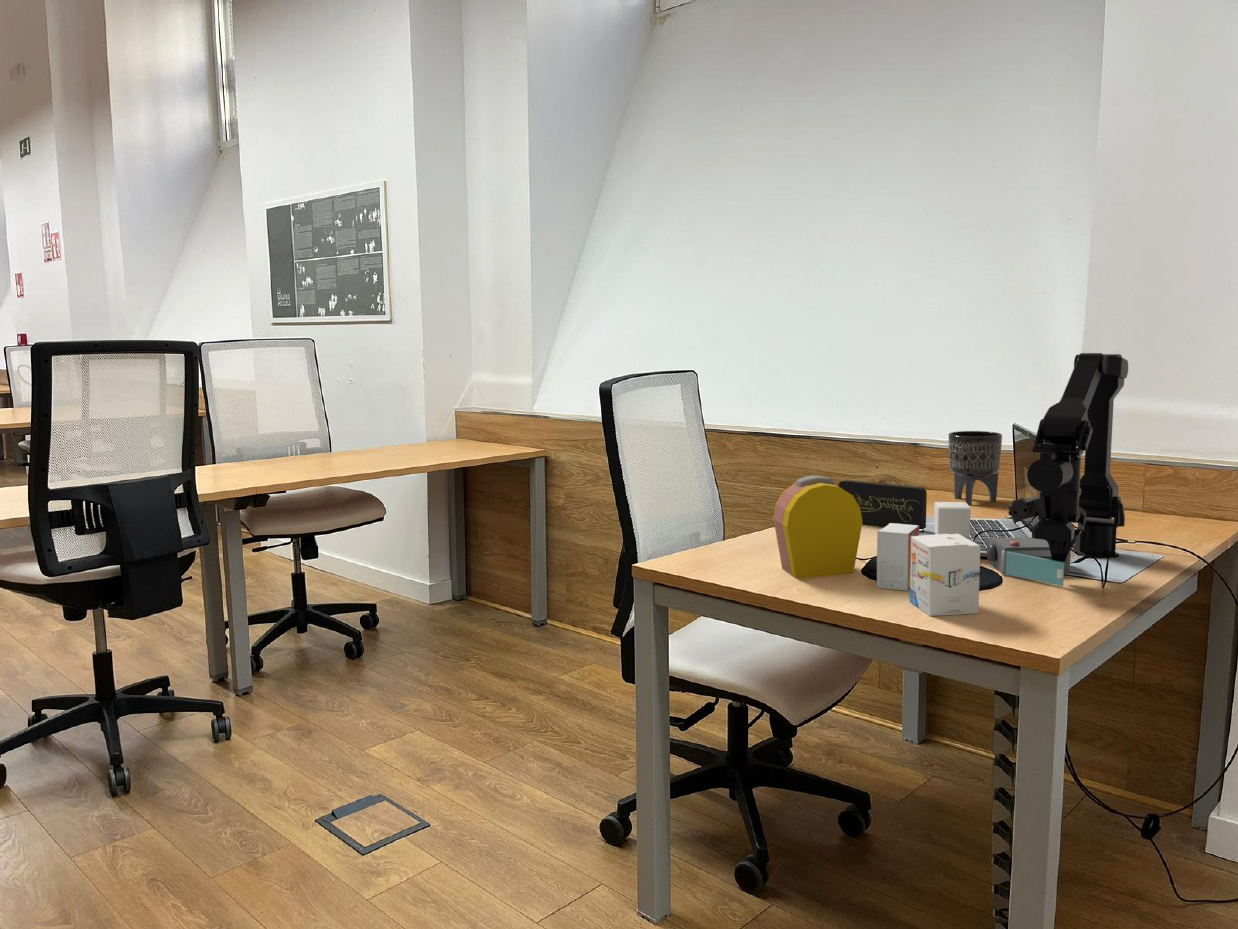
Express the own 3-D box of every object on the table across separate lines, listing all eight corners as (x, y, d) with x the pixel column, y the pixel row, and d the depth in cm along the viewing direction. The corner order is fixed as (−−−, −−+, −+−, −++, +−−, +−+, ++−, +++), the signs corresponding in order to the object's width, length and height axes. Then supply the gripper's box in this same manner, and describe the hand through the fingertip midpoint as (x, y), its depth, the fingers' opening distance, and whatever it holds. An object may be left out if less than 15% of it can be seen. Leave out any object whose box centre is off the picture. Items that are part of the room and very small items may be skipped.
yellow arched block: (844, 563, 183) (845, 471, 180) (861, 573, 175) (863, 478, 172) (772, 568, 181) (772, 475, 178) (787, 579, 173) (786, 482, 170)
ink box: (908, 601, 157) (909, 534, 155) (956, 599, 158) (957, 532, 156) (929, 617, 149) (930, 546, 147) (979, 614, 149) (981, 543, 148)
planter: (994, 507, 231) (996, 437, 229) (941, 503, 238) (942, 435, 236) (1004, 499, 242) (1006, 432, 240) (953, 495, 249) (955, 430, 247)
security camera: (969, 556, 185) (970, 507, 184) (933, 555, 187) (934, 507, 185) (964, 548, 192) (965, 501, 190) (929, 548, 193) (930, 501, 191)
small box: (907, 592, 162) (908, 533, 161) (875, 588, 165) (876, 530, 164) (919, 581, 169) (920, 524, 168) (888, 577, 172) (889, 522, 171)
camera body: (1051, 562, 179) (1053, 533, 179) (1069, 573, 171) (1071, 543, 170) (983, 563, 180) (984, 535, 179) (998, 574, 172) (999, 544, 171)
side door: (999, 574, 171) (999, 551, 170) (1002, 573, 172) (1003, 550, 171) (1059, 587, 162) (1061, 562, 161) (1063, 585, 163) (1064, 561, 162)
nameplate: (925, 531, 209) (926, 487, 207) (922, 532, 207) (923, 489, 206) (842, 520, 223) (842, 479, 221) (838, 521, 221) (838, 480, 220)
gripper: (1023, 473, 175) (1020, 553, 177) (1002, 488, 160) (998, 576, 162) (1088, 477, 169) (1084, 560, 171) (1072, 493, 154) (1068, 584, 156)
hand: (1058, 569), depth 165 cm, fingers closed
